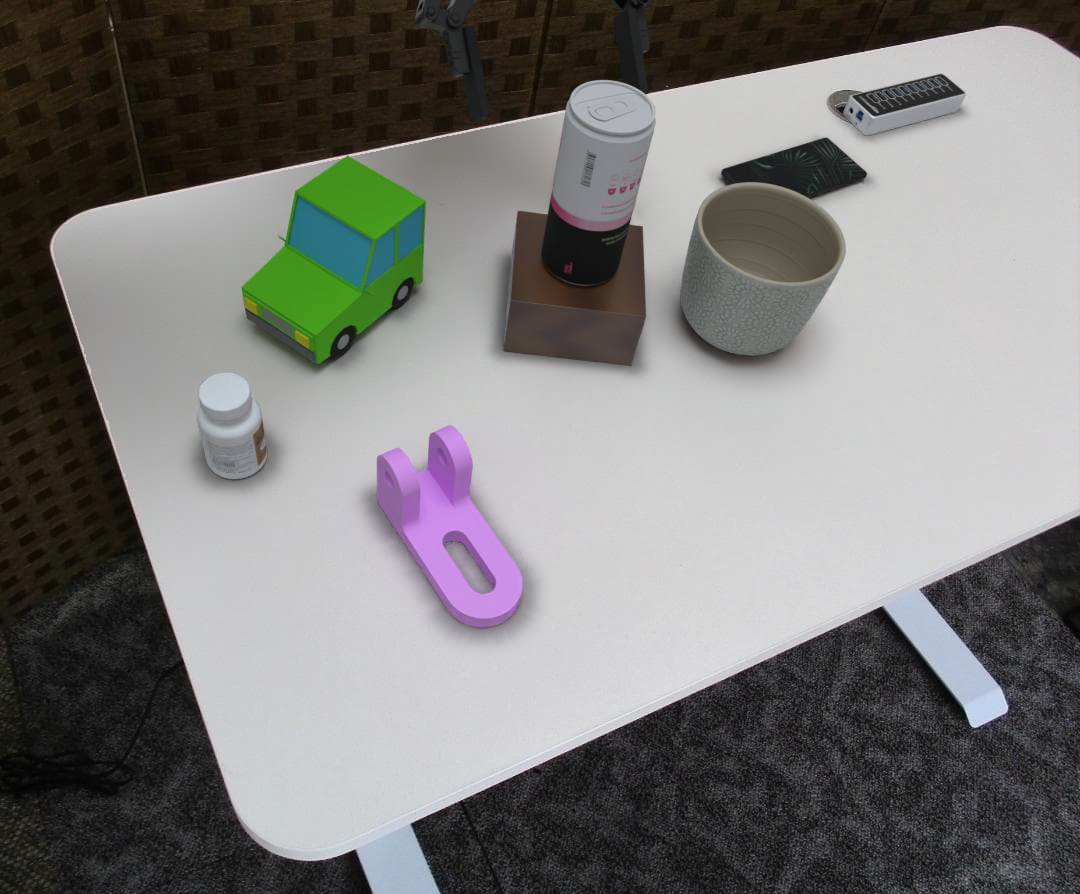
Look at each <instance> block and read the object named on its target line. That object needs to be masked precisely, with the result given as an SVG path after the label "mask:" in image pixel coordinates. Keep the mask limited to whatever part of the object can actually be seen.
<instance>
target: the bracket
mask: <svg viewBox="0 0 1080 894" xmlns="http://www.w3.org/2000/svg"><path fill="white" fill-rule="evenodd" d="M473 464H474V463H473V457H472V453H471V451H470V448H469V446H468V443H467V442H466V440H465V437H464V436H463V435H462V433H461V432H460V430H458V428H456V427H455V426H454V425H451V424H449V425H446V426H444V427H441V428H439V429H437V430H435V431H433V432H431V433H430V434H429V435H428V449H427V465H426V466H427V467H426V468H425V469H423V470H420V471H418V472H417V471H416V469H415V467H414V464H413V463H412V461H411V459H410V457H409V456H408V455H407V453H406V452H405V451H404V450H403V449H402V448H400V447H395V448H393V449H391V450H388V451H386V452H384V453H381V454H379V455H377V456H376V502H377V503H378V505H379V506H380V508H381V510H382V511H383V513H384V514H385V516H386V518H387V519H388V521H389V522H390V523H391V525H392V527H393V528H394V530H395V531H396V533H397V534H398V536H399V537H400V539H401V541H402V542H403V543H404V545H405V547H406V548H407V550H408V551H409V553H410V555H411V556H412V557H413V559H414V560H415V562H416V564H417V565H418V567H419V569H420V570H421V572H422V573H423V574H424V576H425V577H426V580H427V581H428V582H429V584H430V585H431V587H432V588H433V590H434V591H435V593H436V595H437V596H438V598H439V599H440V601H441V602H442V604H443V605H444V607H445V608H446V610H447V612H448V613H449V615H451V616H452V617H453V618H454V619H455V620H457V621H458V622H460V623H462V624H465V625H466V626H469V627H473V628H481V629H483V628H492V627H497V626H498V625H501V624H503V623H505V622H506V621H508V620H509V619H510V618H511V617H512V616H513V615H514V613H515V612H516V611H517V609H518V607H519V605H520V601H521V597H522V594H523V589H524V588H523V587H524V582H523V576H522V573H521V570H520V568H519V566H518V565H517V563H516V562H515V560H514V559H513V558H512V556H511V555H510V553H509V552H508V550H507V549H506V547H505V546H504V545H503V544H502V542H501V541H500V539H499V538H498V536H497V535H496V533H495V532H494V530H493V529H492V528H491V526H490V525H489V524H488V522H487V521H486V519H485V518H484V516H483V515H482V513H481V512H480V511H479V510H478V508H477V507H476V505H475V504H474V502H473V500H472V498H471V495H470V492H471V485H472V476H473V467H474V465H473ZM454 541H456V542H459V543H461V544H462V545H464V546H465V548H466V549H467V551H468V552H469V554H470V555H471V557H472V558H473V559H474V561H475V563H476V565H477V566H478V567H479V568H480V569H481V571H482V573H483V574H484V576H485V578H486V579H487V581H489V583H490V584H491V586H492V588H493V589H492V590H491V591H490V592H488V593H480V592H477V591H475V590H474V588H472V587H471V585H470V583H469V582H468V581H467V579H466V578H465V576H464V575H463V573H462V571H461V570H460V568H459V567H458V565H457V564H456V563H455V561H454V559H453V557H452V556H451V555H450V553H449V552H448V551H447V548H445V545H446V544H447V543H450V542H454Z"/></svg>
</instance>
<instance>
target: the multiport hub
mask: <svg viewBox="0 0 1080 894" xmlns="http://www.w3.org/2000/svg"><path fill="white" fill-rule="evenodd" d="M966 96H967V93H966V91H964V89H962V88H961V87H960V86H958V85H957V84H956V83H955V82H954V81H953V80H952V79H950V78H949V77H948V76H947V75H945V74H944V73H936V74H932V75H928V76H924V77H920V78H915V79H912V80H908V81H903V82H900V83H899V82H898V83H895V84H891V85H888V86H887V85H886V86H883V87H879V88H875V89H869V90H867V91H864V92H858V93H854V94H850V95H849V97H848V100H847V102H846V104H845V107H844V109H843V111H842V116H843V117H844V118H845V119H846V120H847V121H849V123H851V124H852V125H853V127H855V128H856V129H857V130H858V131H859V132H860V133H861V134H862V135H864V136H872V135H875V134H879V133H884V132H886V131H890V130H895V129H898V128H901V127H905V126H909V125H912V124H917V123H920V122H925V121H928V120H931V119H935V118H939V117H943V116H947V115H951V114H955V113H957V112H958V111H959V110H960V107H961V105H962V103H963V102H964V99H965V98H966Z"/></svg>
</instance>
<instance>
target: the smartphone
mask: <svg viewBox="0 0 1080 894" xmlns="http://www.w3.org/2000/svg"><path fill="white" fill-rule="evenodd" d="M720 175H721V176H722V178H723V179H725V181H727V183H729V185H731V184H736V183H745V182H756V183H766V184H772V185H776V186H780V187H784V188H787V189H790V190H792V191H795V192H797V193H799V194H801V195H803V196H805V197H807V198H809V199H810V198H811V197H814V196H817V195H820V194H823V193H826V192H830V191H832V190H835V189H837V188H842V187H844V186H847V185H850V184H852V183H855V182H858V181H862V180H864V179H866V178H867V176H868V172H867V171H866V169H864V168H862V166H860V165H859V164H858V162H856V161H855V160H854V159H853V158H851V157H850V156H849V155H848V154H847V153H846V152H845V151H843V149H841V148H840V147H839V146H838V145H837V144H836V143H834V142H833V141H832V140H831V139H830V138H829V137H822V138H819V139H816V140H811V141H809V142H806V143H802V144H799V145H796V146H793V147H790V148H789V147H788V148H786V149H783V150H780V151H775V152H772V153H769V154H766V155H764V156H763V155H762V156H760V157H757V158H754V159H749V160H747V161H743V162H741V163H737V164H734V165H731V166H728V167H724V168H722V170H721V171H720Z"/></svg>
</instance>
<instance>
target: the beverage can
mask: <svg viewBox="0 0 1080 894" xmlns="http://www.w3.org/2000/svg"><path fill="white" fill-rule="evenodd" d="M656 112H657V111H656V107H655V105H654V102H653V101H652V99H651V98H650V97H649V96H648V94H644V93H643V92H642V91H640V90H638V89H637V88H635V87H633V86H630V85H628V84H625V83H623V82H621V81H617V80H610V79H609V80H608V79H597V80H591V81H587V82H584V83H582V84H580V85H578V86H576V87H575V88H574V89H573V91H572V92H571V94H570V97H569V99H568V101H567V103H566V106H565V112H564V117H563V123H562V129H561V135H560V140H559V141H560V142H559V146H558V153H557V159H556V165H555V170H554V176H553V181H552V188H551V193H550V199H549V205H548V211H547V214H548V216H547V222H546V227H545V233H544V239H543V245H542V251H541V255H542V260H543V262H544V264H545V266H546V267H547V268H548V270H549V271H550V272H551V273H553V274H554V275H555V276H557V277H558V278H560V279H561V280H563V281H565V282H568V283H571V284H575V285H583V286H587V285H594V284H599V283H602V282H605V281H607V280H608V279H610V278H611V277H612V276H613V275H614V274H615V273H616V272H617V270H618V267H619V264H620V260H621V256H622V252H623V248H624V244H625V241H626V237H627V233H628V229H629V225H631V221H632V217H633V213H634V210H635V205H636V201H637V198H638V194H639V190H640V186H641V182H642V178H643V176H644V175H643V174H644V171H645V167H646V163H647V159H648V155H649V151H650V147H651V143H652V140H653V137H654V133H655V128H656V123H657V121H656Z"/></svg>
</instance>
